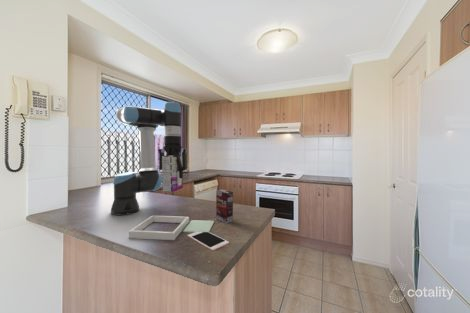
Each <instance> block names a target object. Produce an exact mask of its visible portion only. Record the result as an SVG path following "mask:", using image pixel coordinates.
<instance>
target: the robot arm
mask: <svg viewBox="0 0 470 313" xmlns="http://www.w3.org/2000/svg"><path fill="white" fill-rule="evenodd" d="M115 118H116V119H117V121H118V122H119V123H121V124H123V125H125V126H131V127H136V130H137V131H138V132H139V147H140V148H139V150H140V152H139V153H140V169H139V170H138V173H136V172H135V171H129V172H123V173H119V174H116V175H115V176H114V177H113V201H112V205H111V207H110V214H111V215H113V216H124V215H125V216H126V215H131V214H135V213H137V212H138V211H139V210H140V204H139V202H138V199H137V194H139V193H147V192H155V191H158V190H159V189H160V188H161V186H162V172H160V171H162V156H169V155H174V156H176V157H177V165H178V169H179V171H178V172H177V186H179V185H181V178H183V179H184V171H186V170H187V169H188V162H187V160H188V159H187V157H188V156H187V153H188V149H187V148H183V147H182V137H181V136H182V107H181V104H180V103H179V102H176V101H166V102H165V103H164V104H163V109H157V108H147V107H140V106H135V105H126V106H124V107H121V108H118V109H117V111H116V113H115ZM159 126H161V127H164V128H163V129H164V130H163V132H164V137H163V138H164V141H163V142H164V146H163V148H158V149H157V151H158V155H159V156H158V163H159V164H158V166H159V167H158V168H159V169H157V167H156V156H155V154H156V151H155V135H154V134H155V133H154V132H155V131H156V130H157V128H158V127H159ZM165 153H166V154H165ZM180 153H181V154H180ZM180 155H182V163H181V159H180ZM182 166H183V167H182ZM159 170H160V171H159Z"/></svg>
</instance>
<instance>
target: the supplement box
mask: <svg viewBox="0 0 470 313" xmlns="http://www.w3.org/2000/svg"><path fill="white" fill-rule="evenodd" d="M215 192H216V194H215V196H216V200H215V201H216V205H215V207H216V210H215V212H216V213H215V214H216V216H215V217H216V218H215V219H216V220H218V221H220V222H223V223H226V224H228V223H231V222H233V220H234V215H233V214H234V210H233V209H234V192H233V191H230V190H226V189H219V190H218V189H217V190H216V191H215Z"/></svg>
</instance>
